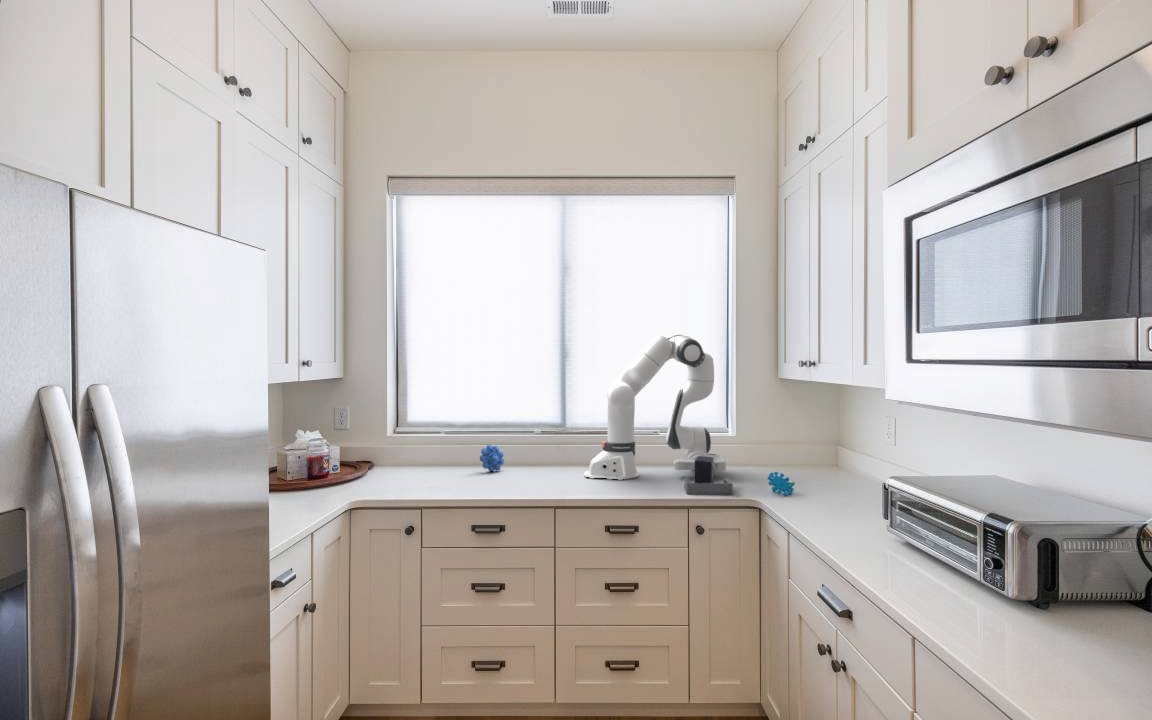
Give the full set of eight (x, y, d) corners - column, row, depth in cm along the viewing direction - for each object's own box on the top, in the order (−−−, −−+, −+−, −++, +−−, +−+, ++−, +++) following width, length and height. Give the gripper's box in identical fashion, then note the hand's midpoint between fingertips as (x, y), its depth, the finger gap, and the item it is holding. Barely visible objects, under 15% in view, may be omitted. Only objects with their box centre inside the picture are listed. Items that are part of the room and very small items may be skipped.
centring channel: (687, 494, 213) (686, 483, 213) (684, 488, 223) (684, 477, 223) (732, 494, 212) (732, 483, 212) (727, 488, 222) (727, 478, 222)
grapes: (484, 475, 250) (484, 446, 250) (477, 472, 255) (477, 444, 255) (508, 471, 256) (508, 444, 256) (501, 469, 262) (501, 442, 262)
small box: (711, 489, 221) (711, 461, 221) (693, 488, 223) (693, 460, 223) (714, 483, 231) (714, 456, 231) (697, 482, 233) (697, 455, 233)
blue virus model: (775, 493, 207) (765, 469, 214) (766, 502, 211) (757, 478, 218) (801, 495, 210) (791, 471, 217) (792, 504, 214) (782, 480, 221)
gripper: (672, 454, 248) (675, 459, 234) (722, 454, 246) (728, 460, 233) (672, 469, 248) (675, 475, 234) (722, 469, 246) (728, 476, 233)
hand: (702, 468), depth 233 cm, fingers closed
